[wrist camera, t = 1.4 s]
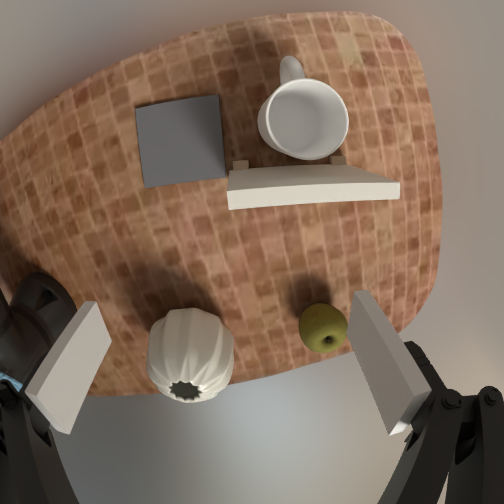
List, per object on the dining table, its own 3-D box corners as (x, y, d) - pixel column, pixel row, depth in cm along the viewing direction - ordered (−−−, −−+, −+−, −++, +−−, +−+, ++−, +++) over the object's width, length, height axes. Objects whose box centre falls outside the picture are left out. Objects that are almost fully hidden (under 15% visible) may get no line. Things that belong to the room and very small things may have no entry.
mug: (248, 69, 30) (253, 46, 20) (310, 66, 30) (337, 44, 20) (261, 156, 35) (271, 164, 25) (322, 150, 35) (352, 157, 25)
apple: (318, 337, 48) (328, 364, 41) (284, 319, 45) (292, 348, 39) (347, 307, 45) (362, 333, 39) (314, 286, 43) (327, 312, 37)
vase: (249, 321, 45) (255, 383, 33) (208, 368, 49) (205, 426, 37) (175, 281, 41) (156, 339, 29) (142, 337, 45) (122, 393, 33)
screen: (231, 191, 36) (230, 223, 24) (228, 161, 35) (225, 176, 22) (346, 183, 37) (398, 211, 24) (346, 155, 35) (400, 170, 22)
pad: (146, 187, 35) (145, 188, 35) (136, 109, 31) (135, 108, 30) (226, 176, 36) (226, 177, 35) (218, 95, 31) (218, 94, 30)
